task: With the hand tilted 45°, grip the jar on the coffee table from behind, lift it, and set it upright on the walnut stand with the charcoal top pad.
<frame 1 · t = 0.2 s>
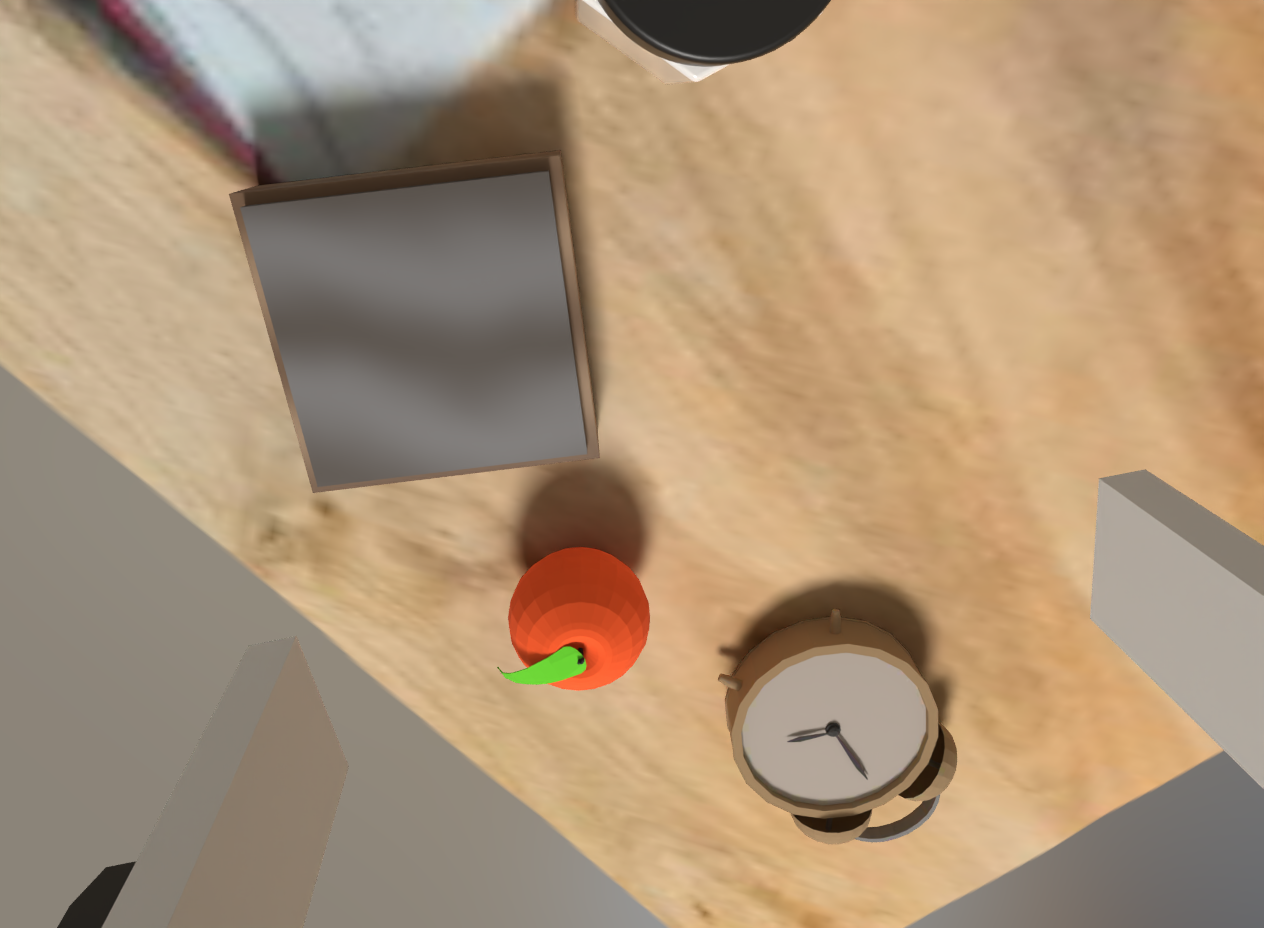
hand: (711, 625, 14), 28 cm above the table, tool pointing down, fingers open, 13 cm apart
clementine: (570, 583, 46), on the table
stand: (439, 316, 40), on the table
alarm clock: (832, 712, 51), on the table
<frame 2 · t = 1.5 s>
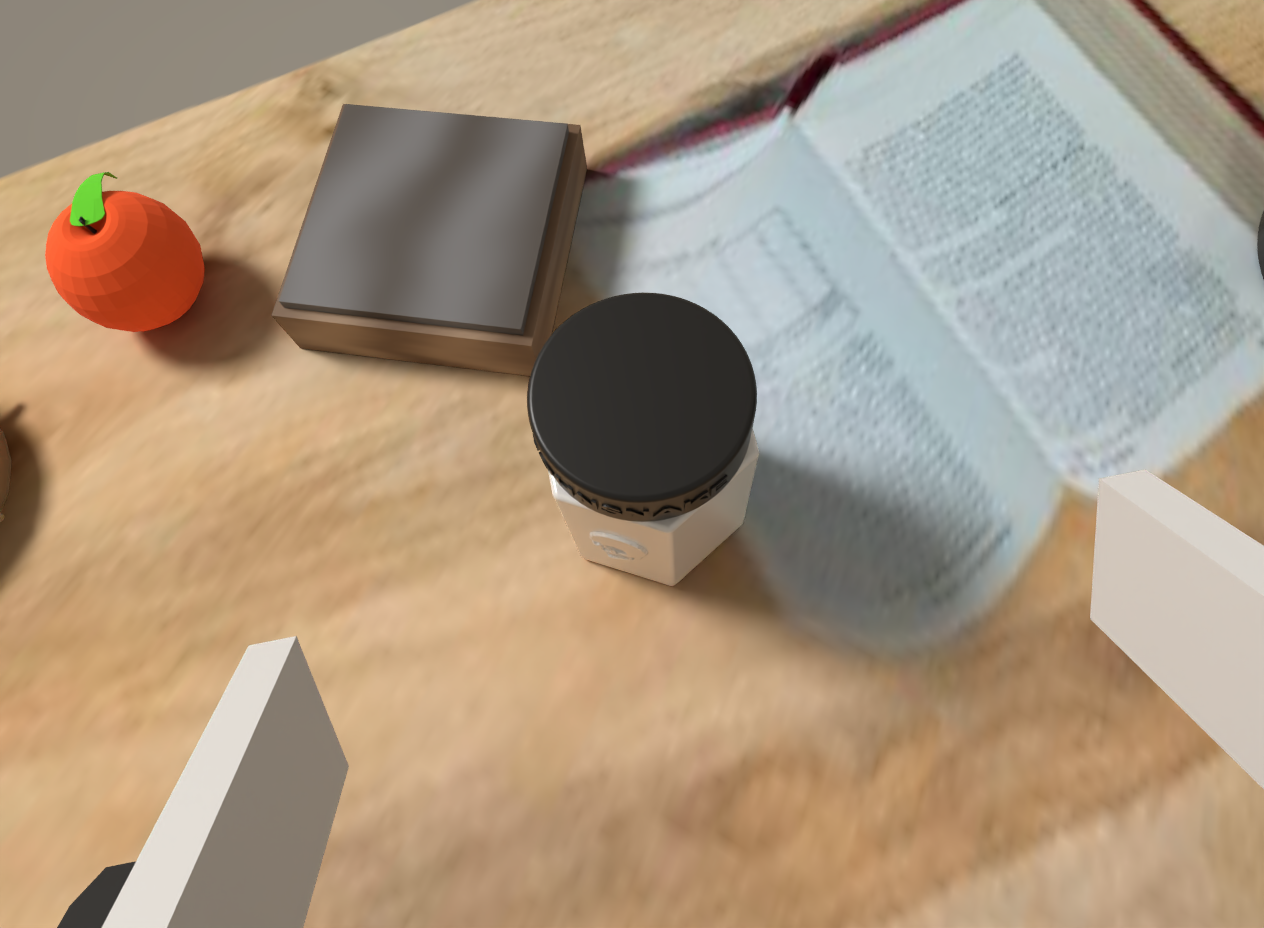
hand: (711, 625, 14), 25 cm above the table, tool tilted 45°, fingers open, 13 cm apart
clementine: (168, 292, 47), on the table
stand: (448, 255, 47), on the table
jar: (652, 498, 42), on the table
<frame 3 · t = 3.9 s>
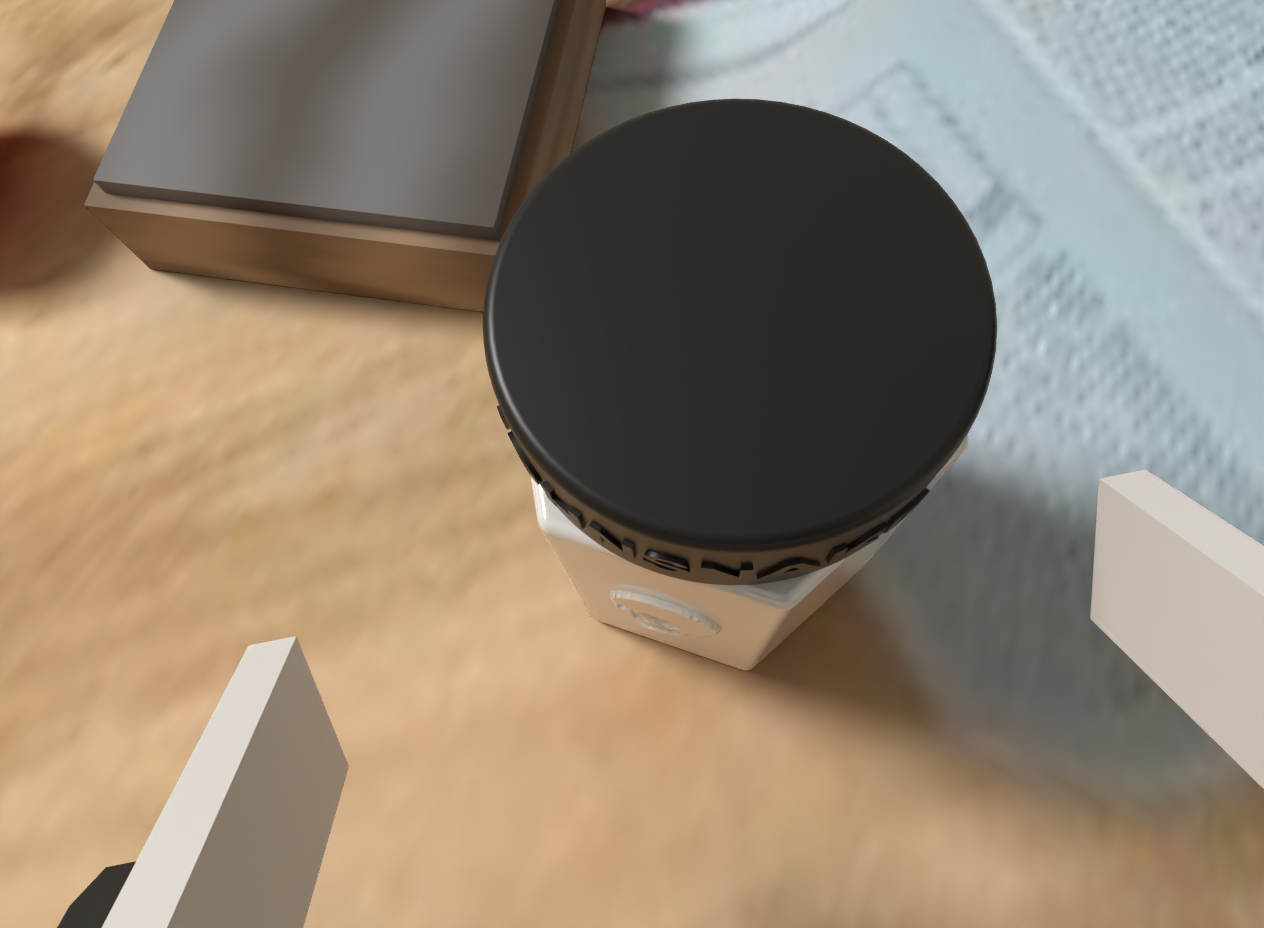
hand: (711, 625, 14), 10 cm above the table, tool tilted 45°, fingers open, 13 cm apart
stand: (388, 131, 30), on the table
jar: (710, 516, 25), on the table
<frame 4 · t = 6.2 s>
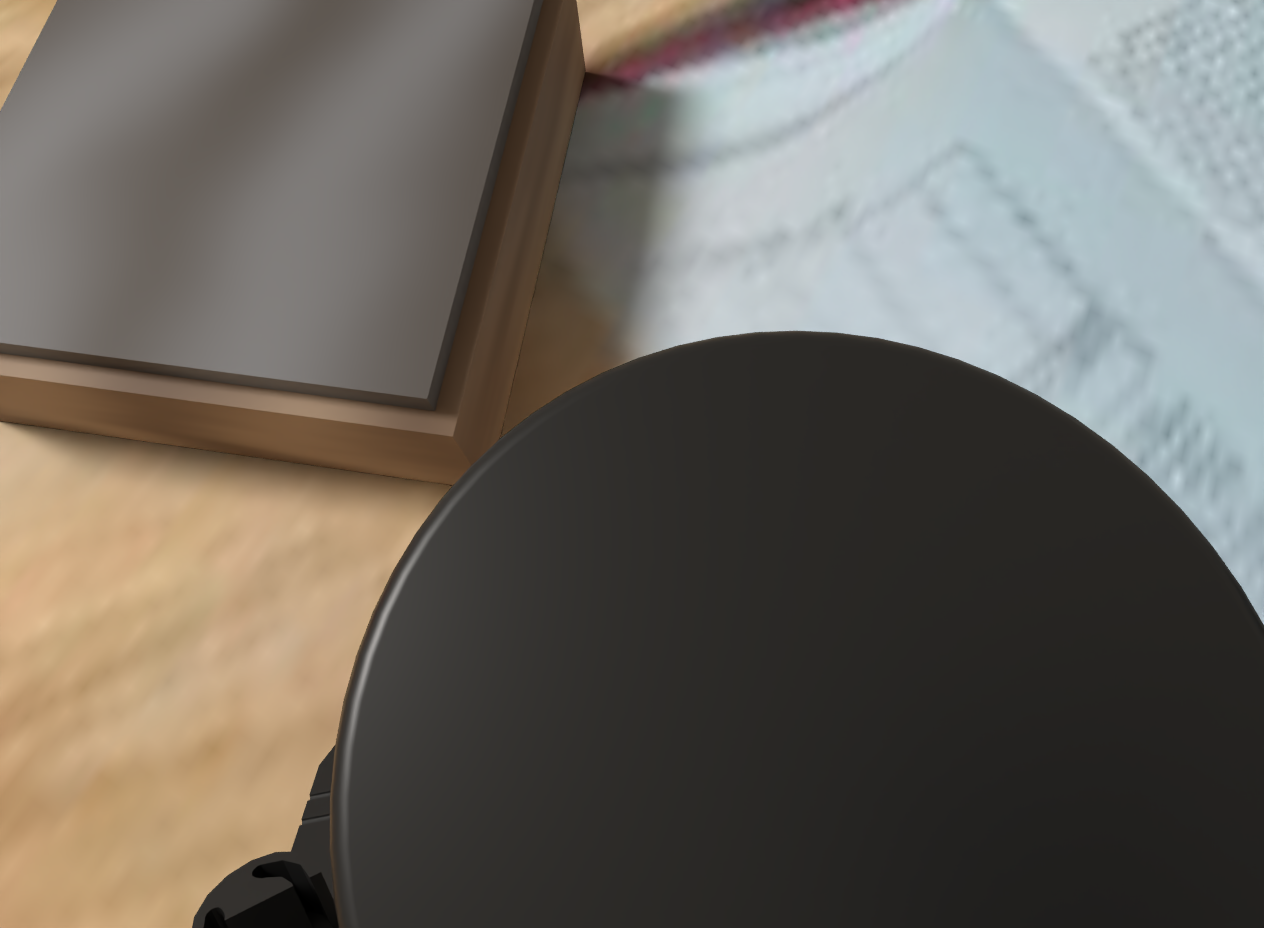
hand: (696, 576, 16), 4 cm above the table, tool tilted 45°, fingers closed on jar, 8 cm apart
stand: (309, 234, 24), on the table
jar: (728, 776, 18), on the table, touching gripper
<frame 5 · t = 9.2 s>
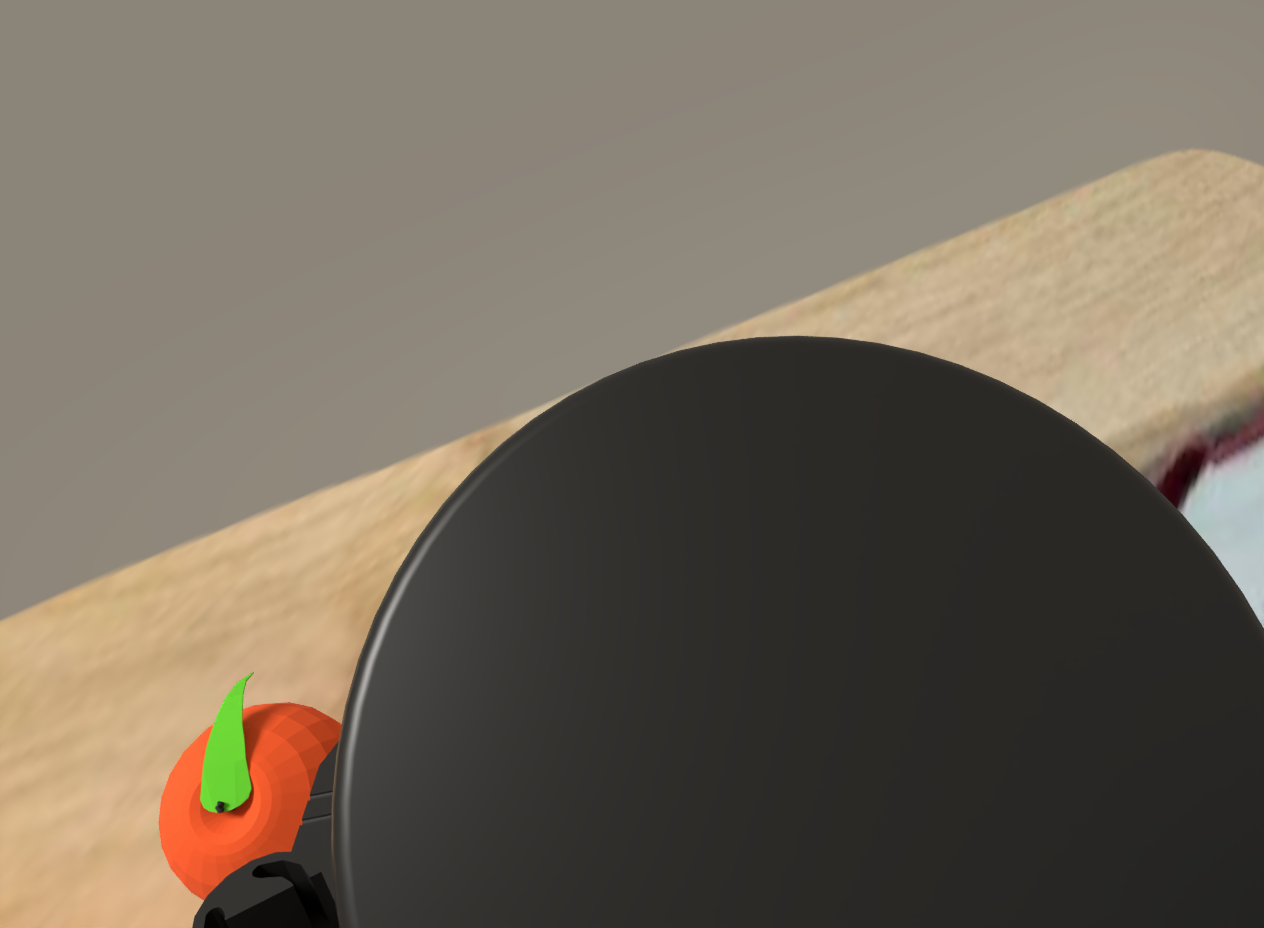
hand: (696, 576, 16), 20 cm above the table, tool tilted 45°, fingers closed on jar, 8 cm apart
clementine: (309, 786, 34), on the table
jar: (728, 779, 18), point 16 cm above the table, touching gripper
when the fingers open (9 cm above the table, at t = 12.3 s): jar drops 1 cm, resting on stand.
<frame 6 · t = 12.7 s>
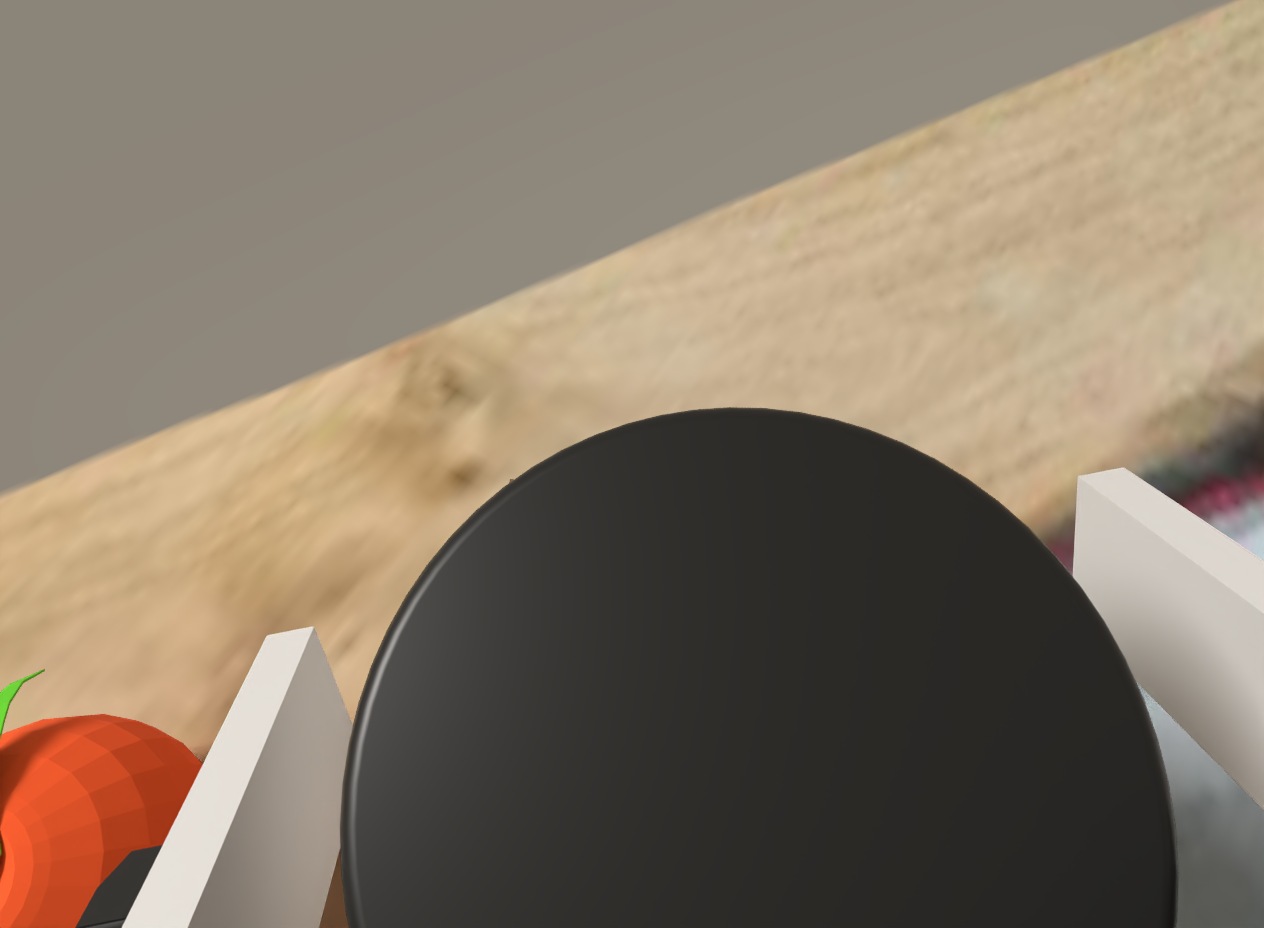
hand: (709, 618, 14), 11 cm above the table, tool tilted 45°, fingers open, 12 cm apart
clementine: (153, 836, 24), on the table
jar: (708, 784, 20), point 4 cm above the table, touching stand
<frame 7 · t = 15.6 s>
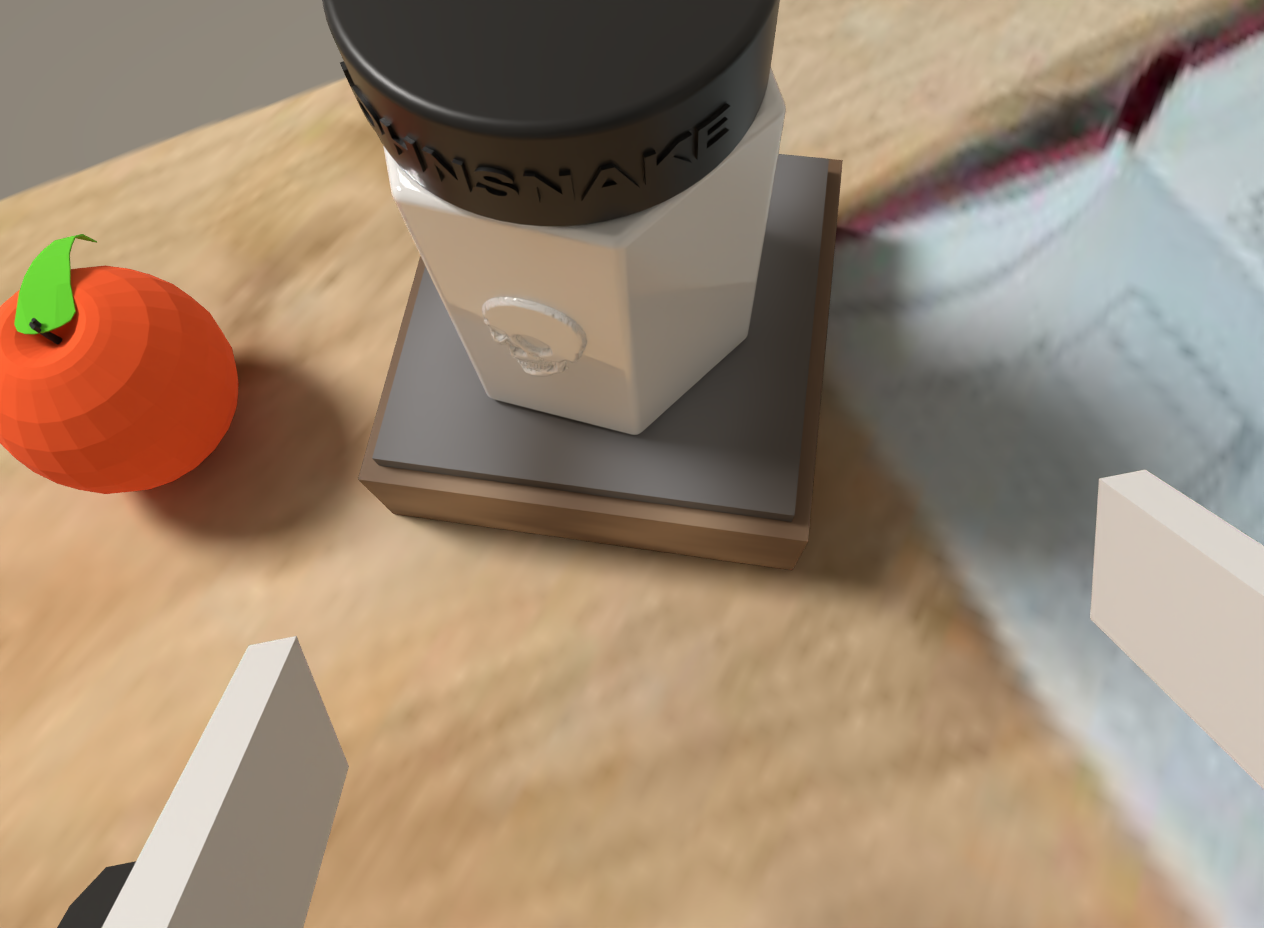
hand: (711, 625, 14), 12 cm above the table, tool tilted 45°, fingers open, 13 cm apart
clementine: (178, 413, 30), on the table
stand: (620, 360, 30), on the table
jar: (602, 308, 26), point 4 cm above the table, touching stand
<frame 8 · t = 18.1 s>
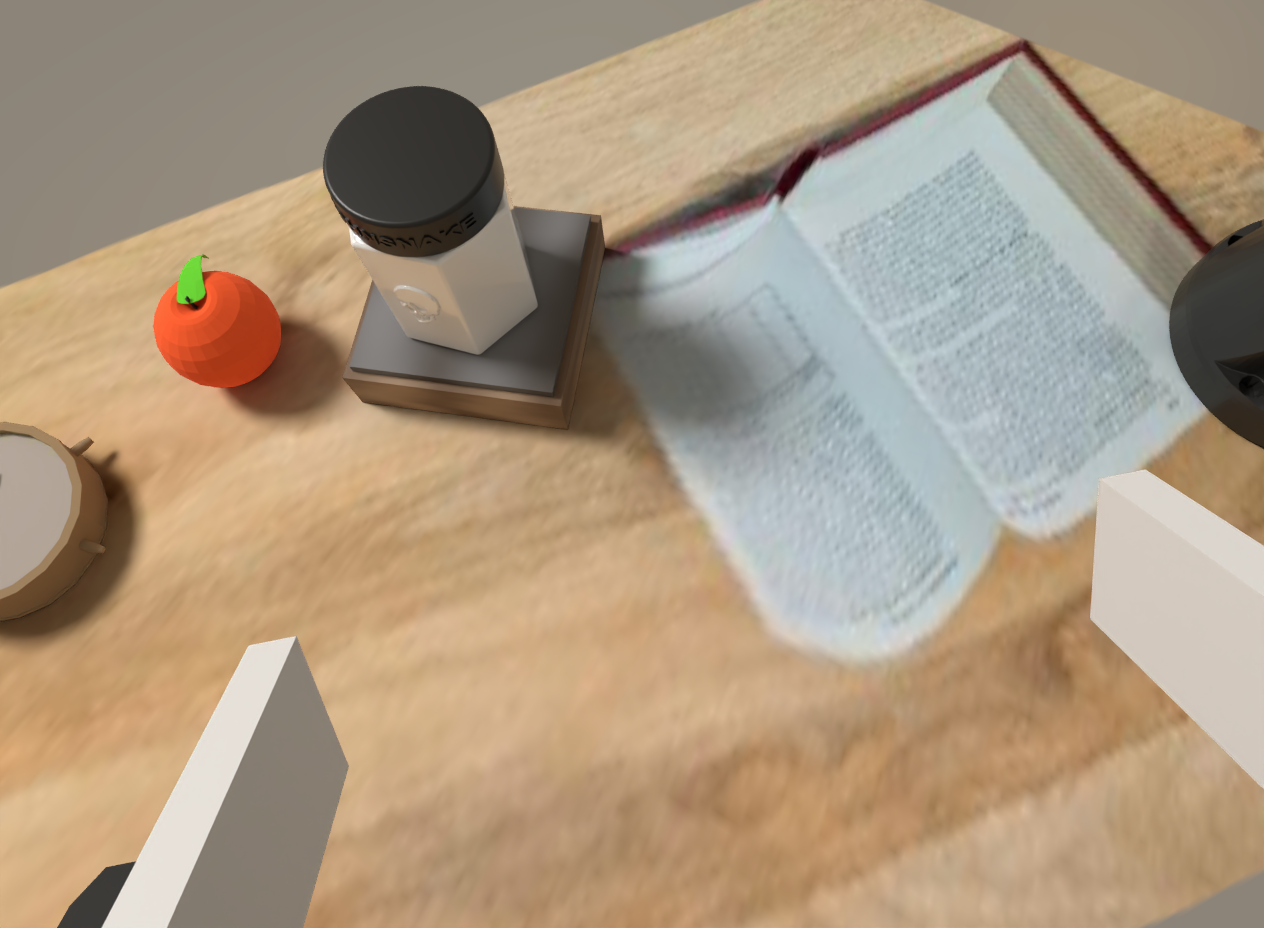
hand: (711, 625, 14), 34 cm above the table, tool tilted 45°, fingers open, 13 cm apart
clementine: (247, 350, 56), on the table
stand: (487, 322, 55), on the table
jar: (468, 293, 51), point 4 cm above the table, touching stand
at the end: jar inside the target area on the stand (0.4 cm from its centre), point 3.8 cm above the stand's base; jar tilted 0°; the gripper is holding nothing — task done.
